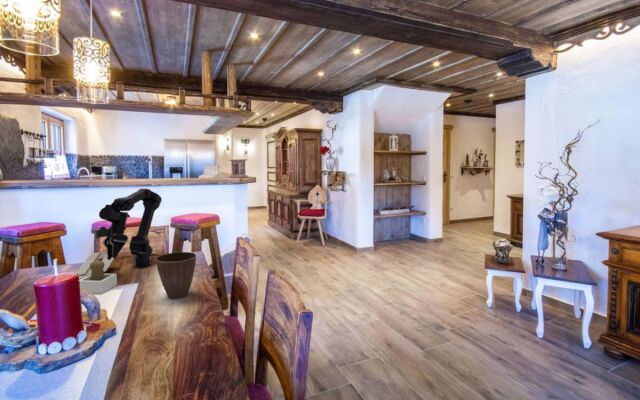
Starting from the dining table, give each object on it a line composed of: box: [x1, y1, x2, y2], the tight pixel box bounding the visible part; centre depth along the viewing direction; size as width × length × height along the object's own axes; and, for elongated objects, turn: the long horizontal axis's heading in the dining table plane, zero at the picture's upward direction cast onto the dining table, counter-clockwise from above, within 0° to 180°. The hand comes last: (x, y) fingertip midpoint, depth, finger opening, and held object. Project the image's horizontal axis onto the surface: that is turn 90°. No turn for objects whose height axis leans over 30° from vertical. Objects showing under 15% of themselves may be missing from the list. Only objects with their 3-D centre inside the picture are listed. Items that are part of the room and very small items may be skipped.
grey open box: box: [79, 273, 118, 295], centre depth 145 cm, size 10×10×5 cm
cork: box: [90, 261, 105, 281], centre depth 145 cm, size 6×6×11 cm
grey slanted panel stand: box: [74, 251, 115, 276], centre depth 170 cm, size 16×9×15 cm
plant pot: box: [155, 251, 197, 300], centre depth 138 cm, size 15×15×16 cm
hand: (111, 258), depth 154 cm, fingers open, 9 cm apart
